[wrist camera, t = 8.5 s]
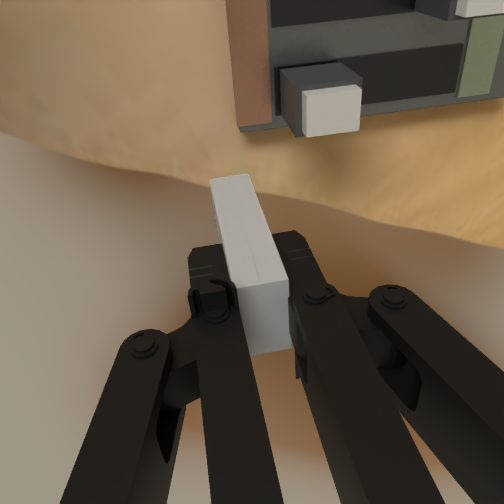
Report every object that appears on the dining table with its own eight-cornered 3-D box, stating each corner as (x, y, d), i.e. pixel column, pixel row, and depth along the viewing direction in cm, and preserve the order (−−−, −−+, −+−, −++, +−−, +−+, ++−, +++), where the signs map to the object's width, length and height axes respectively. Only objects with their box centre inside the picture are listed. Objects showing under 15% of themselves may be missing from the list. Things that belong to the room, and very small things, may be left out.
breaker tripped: (281, 115, 31) (300, 143, 27) (279, 69, 29) (299, 91, 25) (338, 108, 31) (365, 134, 27) (339, 62, 29) (369, 82, 25)
